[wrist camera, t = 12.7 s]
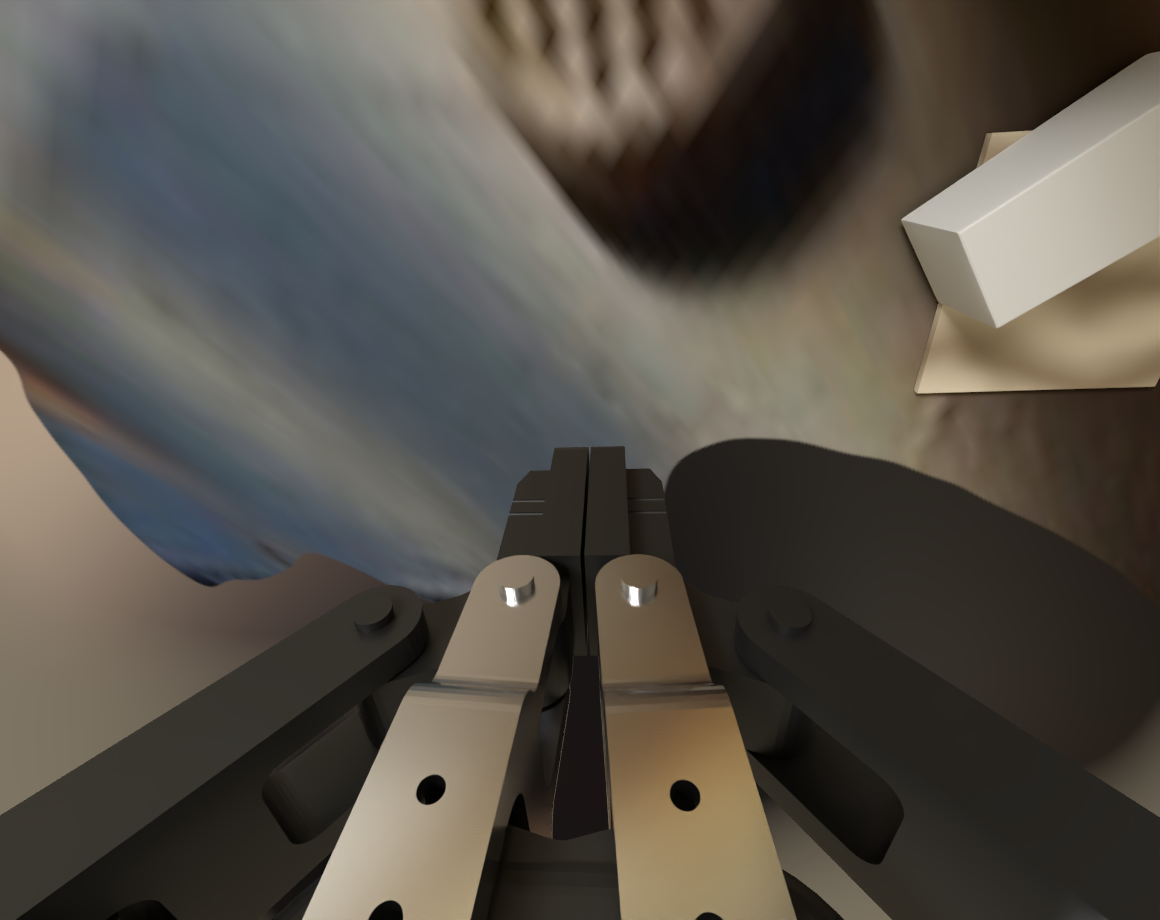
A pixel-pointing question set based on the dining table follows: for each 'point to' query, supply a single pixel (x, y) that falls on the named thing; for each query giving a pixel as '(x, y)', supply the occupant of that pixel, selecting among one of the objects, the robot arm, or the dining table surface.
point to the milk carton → (1049, 204)
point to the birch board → (1055, 331)
